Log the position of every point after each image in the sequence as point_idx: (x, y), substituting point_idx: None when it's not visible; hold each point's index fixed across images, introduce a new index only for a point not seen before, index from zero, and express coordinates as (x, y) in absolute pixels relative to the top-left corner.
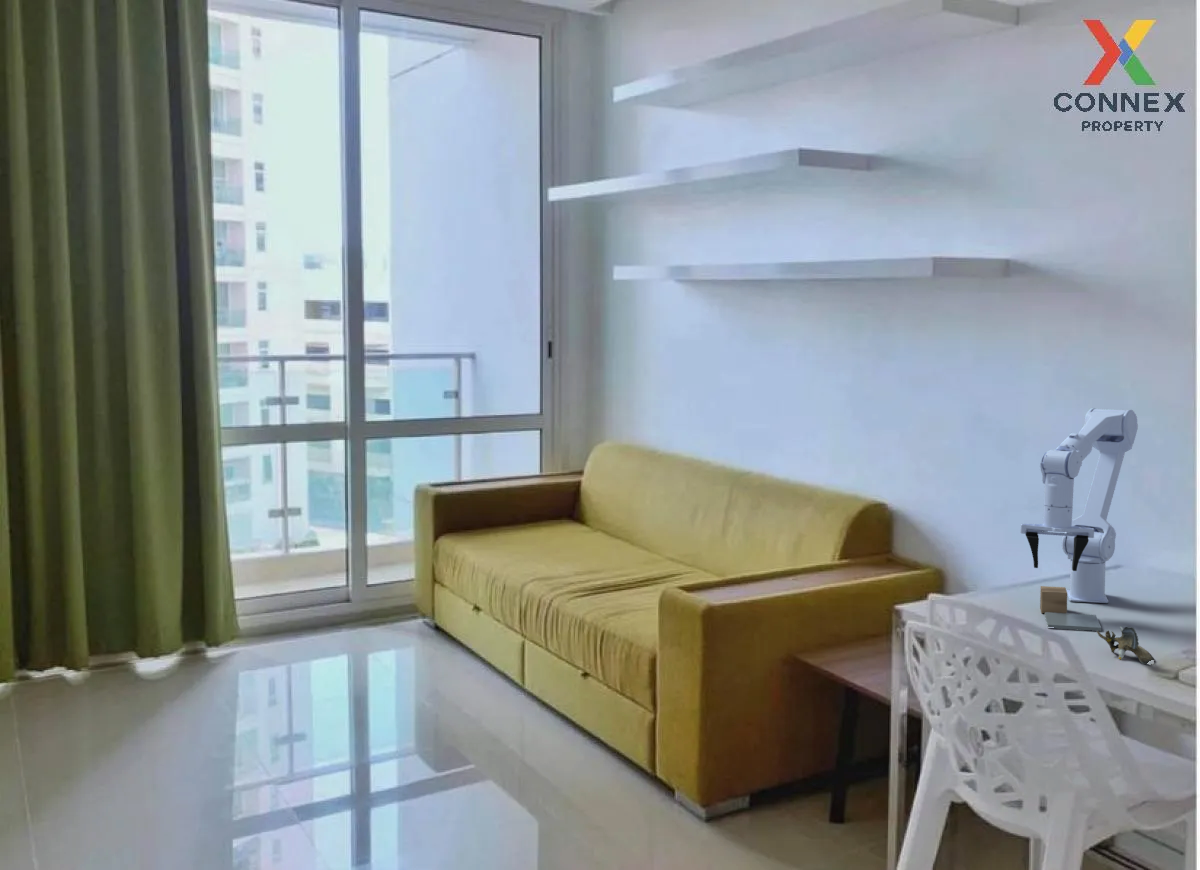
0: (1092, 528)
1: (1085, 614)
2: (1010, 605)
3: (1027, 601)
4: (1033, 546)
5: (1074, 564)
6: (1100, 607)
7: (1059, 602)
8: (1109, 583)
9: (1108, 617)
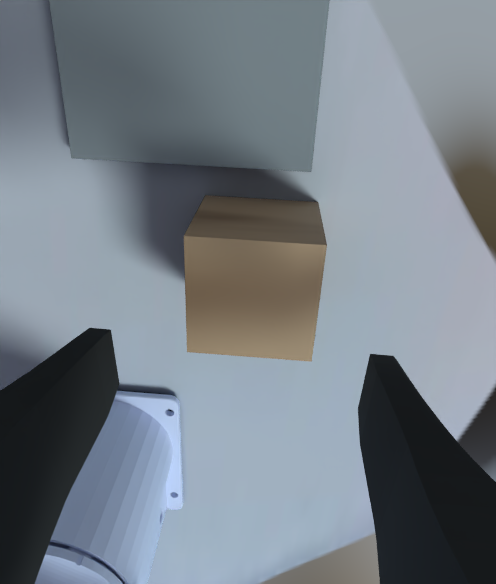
0: None
1: (118, 154)
2: (428, 324)
3: (339, 387)
4: (486, 503)
5: (80, 353)
6: (68, 337)
7: (232, 217)
8: None
9: (26, 186)
